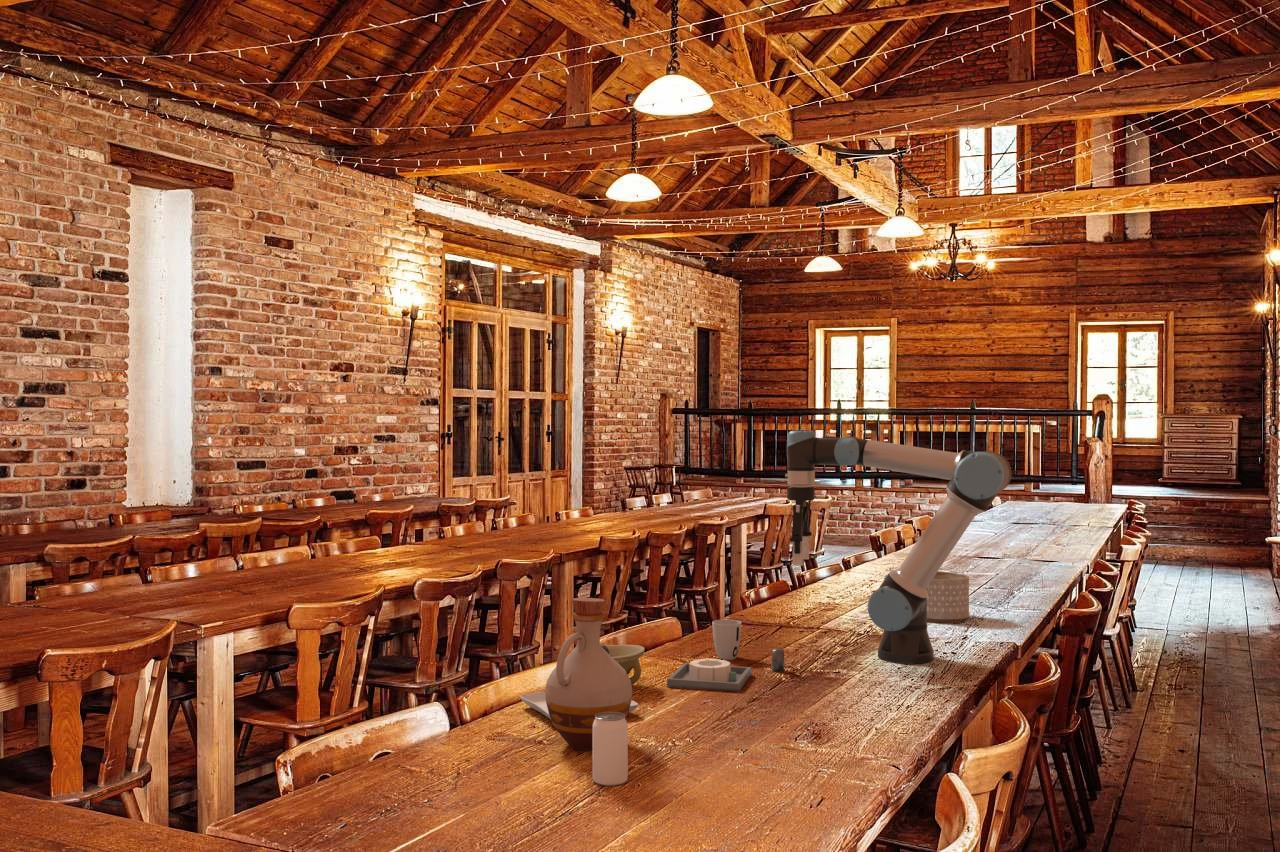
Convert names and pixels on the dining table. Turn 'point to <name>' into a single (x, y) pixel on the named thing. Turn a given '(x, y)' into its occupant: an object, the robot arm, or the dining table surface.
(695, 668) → the ring
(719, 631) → the cup
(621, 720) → the can
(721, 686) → the tray
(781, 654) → the capsule
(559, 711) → the jug
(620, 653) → the bowl
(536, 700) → the salad plate
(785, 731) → the dining table surface
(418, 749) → the dining table surface
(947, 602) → the planter
